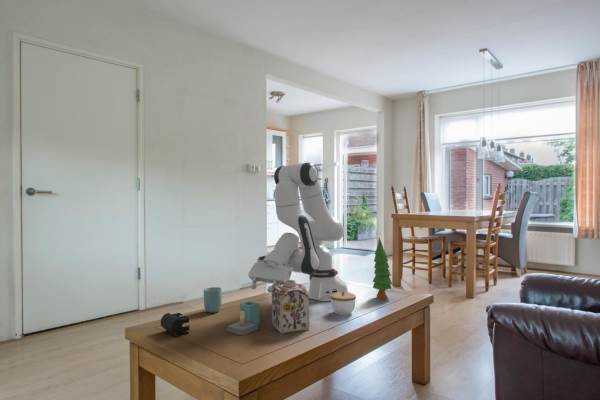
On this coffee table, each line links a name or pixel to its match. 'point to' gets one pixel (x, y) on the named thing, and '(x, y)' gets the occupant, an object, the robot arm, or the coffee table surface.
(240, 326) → the shaft block
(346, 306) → the lidded jar
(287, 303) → the decorative jar
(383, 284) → the decorative tree
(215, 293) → the cup
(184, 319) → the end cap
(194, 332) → the coffee table surface
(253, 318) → the collar
